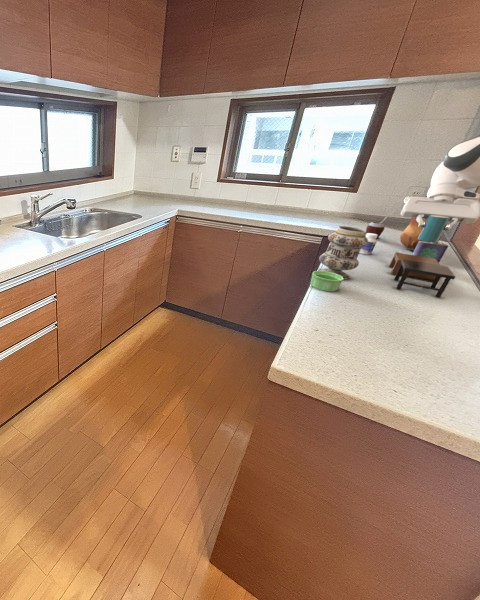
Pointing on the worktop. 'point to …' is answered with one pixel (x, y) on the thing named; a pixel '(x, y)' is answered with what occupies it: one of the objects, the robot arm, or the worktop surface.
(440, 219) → the cup
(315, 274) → the ramekin
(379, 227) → the mate gourd
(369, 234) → the pill bottle
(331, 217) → the worktop surface
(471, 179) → the robot arm
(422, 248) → the flask
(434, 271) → the dark brown wooden table
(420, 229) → the butternut squash
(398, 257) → the brown display stand
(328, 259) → the apothecary jar
